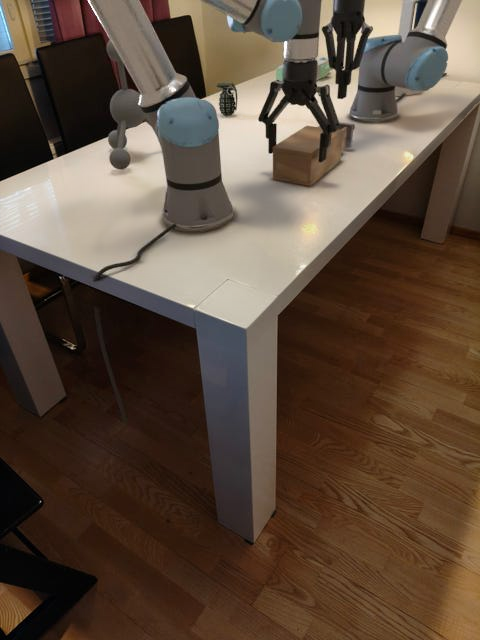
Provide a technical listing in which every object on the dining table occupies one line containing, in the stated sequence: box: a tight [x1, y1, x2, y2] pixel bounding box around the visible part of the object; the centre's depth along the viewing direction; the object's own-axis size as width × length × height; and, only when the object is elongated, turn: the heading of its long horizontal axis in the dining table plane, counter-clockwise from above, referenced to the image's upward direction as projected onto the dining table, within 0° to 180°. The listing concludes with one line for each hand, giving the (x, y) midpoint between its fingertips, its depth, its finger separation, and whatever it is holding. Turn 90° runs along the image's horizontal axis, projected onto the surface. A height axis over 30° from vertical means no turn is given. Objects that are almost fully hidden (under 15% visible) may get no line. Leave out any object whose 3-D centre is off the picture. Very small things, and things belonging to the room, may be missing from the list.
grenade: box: [215, 82, 238, 117], centre depth 166 cm, size 7×6×10 cm
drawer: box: [317, 121, 356, 152], centre depth 132 cm, size 24×9×6 cm, turn 148°
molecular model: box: [106, 39, 151, 171], centre depth 132 cm, size 24×22×30 cm
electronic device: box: [395, 0, 428, 98], centre depth 172 cm, size 12×8×30 cm, turn 105°
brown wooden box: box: [272, 125, 343, 187], centre depth 124 cm, size 19×10×8 cm, turn 148°
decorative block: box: [275, 56, 334, 82], centre depth 206 cm, size 26×6×20 cm
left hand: (296, 156), depth 119 cm, fingers open, 13 cm apart
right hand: (341, 97), depth 132 cm, fingers closed
